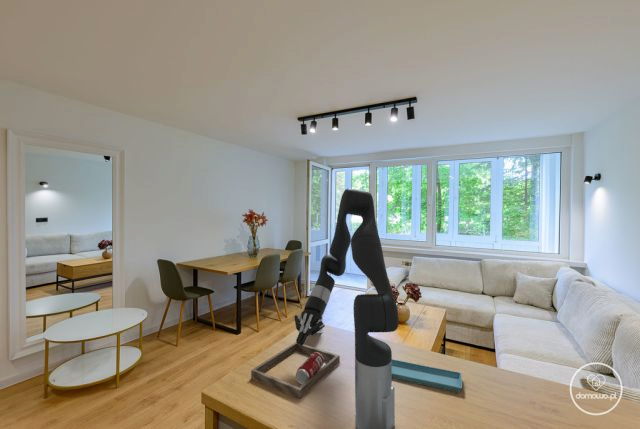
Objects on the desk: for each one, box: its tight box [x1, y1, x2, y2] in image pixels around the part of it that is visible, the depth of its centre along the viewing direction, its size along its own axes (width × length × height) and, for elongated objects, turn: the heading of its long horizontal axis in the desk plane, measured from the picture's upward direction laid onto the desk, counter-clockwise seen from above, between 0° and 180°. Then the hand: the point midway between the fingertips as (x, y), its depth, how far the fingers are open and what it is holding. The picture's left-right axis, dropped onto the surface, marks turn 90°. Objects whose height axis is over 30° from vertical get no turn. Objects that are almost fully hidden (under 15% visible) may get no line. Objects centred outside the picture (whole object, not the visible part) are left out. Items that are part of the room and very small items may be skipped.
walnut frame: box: [250, 341, 341, 400], centre depth 98 cm, size 20×24×2 cm
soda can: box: [295, 352, 325, 385], centre depth 95 cm, size 5×5×12 cm
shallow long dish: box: [392, 358, 463, 393], centre depth 94 cm, size 26×9×2 cm, turn 65°
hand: (299, 344), depth 99 cm, fingers closed
